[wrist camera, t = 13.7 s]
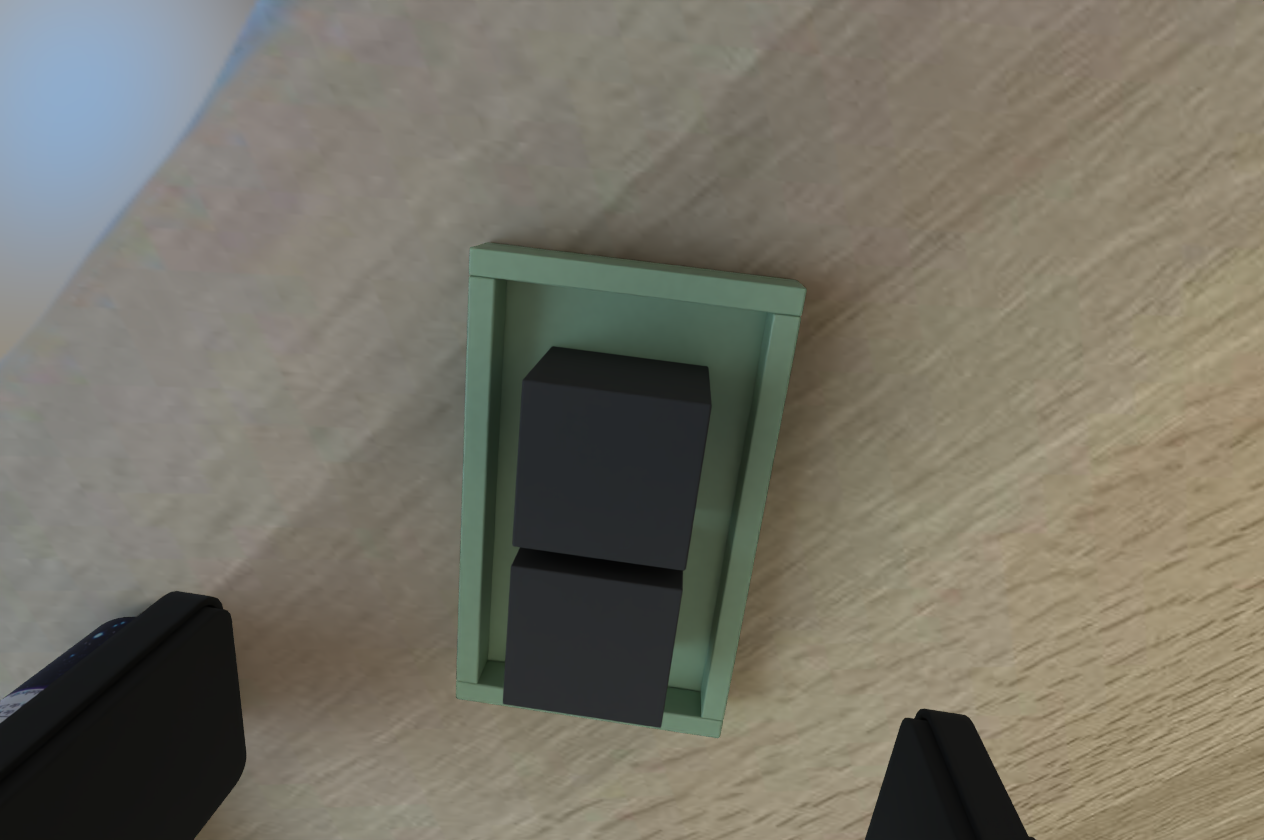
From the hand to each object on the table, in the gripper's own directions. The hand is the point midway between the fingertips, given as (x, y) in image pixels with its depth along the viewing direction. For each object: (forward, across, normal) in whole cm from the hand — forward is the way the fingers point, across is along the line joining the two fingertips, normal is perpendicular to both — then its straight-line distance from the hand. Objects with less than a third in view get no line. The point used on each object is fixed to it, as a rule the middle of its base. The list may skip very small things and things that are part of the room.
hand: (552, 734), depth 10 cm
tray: (+14, 0, +3) cm, 14 cm away
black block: (+14, 0, +6) cm, 15 cm away
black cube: (+14, 0, +1) cm, 14 cm away
